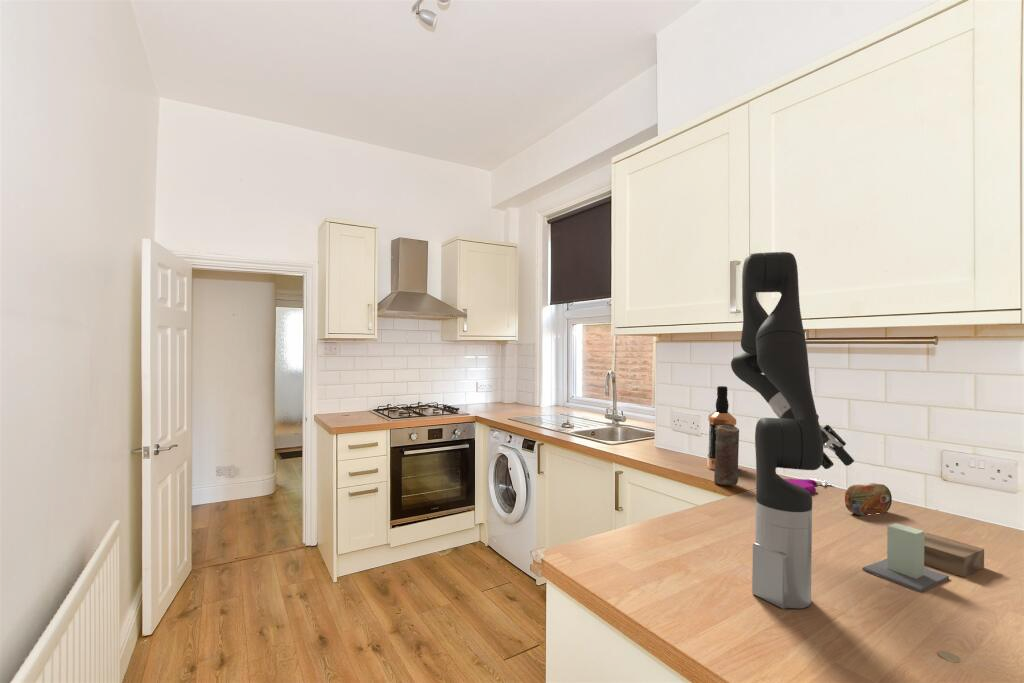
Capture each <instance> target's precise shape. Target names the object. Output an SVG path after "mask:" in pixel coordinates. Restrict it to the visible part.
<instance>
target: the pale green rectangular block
mask: <svg viewBox="0 0 1024 683" xmlns="http://www.w3.org/2000/svg"><path fill="white" fill-rule="evenodd" d="M924 534H925V530H921V529H918V528H915V527H911V526H907V525H904V524H900V523H896V522H895V523H891V524H888V525H887V535H886V536H887V540H886V541H887V542H886V544H887V545H886V546H887V549H886V550H887V552H886V553H887V554H886V555H887V556H886V557H887V558H886V559H887V569H890V570H893V571H895V572H898V573H901V574H904V575H907V576H909V577H912V578H915V579H917V578H919V577H921V576H923V575H924V568H925V564H924Z"/></svg>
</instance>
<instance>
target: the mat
mask: <svg viewBox="0 0 1024 683" xmlns="http://www.w3.org/2000/svg"><path fill="white" fill-rule="evenodd" d="M863 570H865V571H864V572H866V571H868V572H870V573H869V574H871V573H872V574H871V575H874V574H875V575H874V576H876V575H878V576H877V577H879V576H880V578H882V577H883V578H882V579H884V578H885V580H887V579H888V580H887V581H890V582H892V581H893V583H895V584H897V585H900V584H901V586H903V587H906V588H909V589H911V590H914V591H917V592H919V593H922V592H924V591H926V590H928V589H931V588H933V587H935V586H937V585H940V584H942V583H944V582H945V581H947V580H949V579H950V576H949V575H946V574H944V573H941V572H937V571H935V570H932V569H928V568H926V567H924V575H923V576H921V577H919V578H917V579H915V578H912V577H909V576H907V575H904V574H901V573H898V572H895V571H893V570H890V569H887V558H885V559H882V560H879V561H877V562H874V563H871V564H868V565H866V566H863V567H862V571H863ZM868 572H867V573H868Z"/></svg>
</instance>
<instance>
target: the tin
mask: <svg viewBox="0 0 1024 683" xmlns="http://www.w3.org/2000/svg"><path fill="white" fill-rule="evenodd" d="M892 501H893V498H892V492H891V490H890V489H889V488H888V486H886V485H885V484H881V483H876V482H872V483H862V484H853V485H850V486H849V487H848V488H847V489H846V491H845V493H844V503H845V507H846V509H847V510H848V512H850V513H851V514H854V515H857V516H859V515H860V517H862V516H861V515H868V514H876V513H884V514H886V513H887V512H888V511H889V510H890V508H891V506H892Z"/></svg>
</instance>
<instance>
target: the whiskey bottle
mask: <svg viewBox="0 0 1024 683" xmlns="http://www.w3.org/2000/svg"><path fill="white" fill-rule="evenodd" d="M716 389H717V390H716V392H717V393H716V396H717V398H716V400H715V411H714V412H712V413H711V414H709V415H708V417H707V420H708V423H709V431H708V433H709V434H708V453H707V457H706V458H707V459H706V464H707V467H708V468H707V469H709V470H713V471H715V453H716V429H717V426H718V425H729V426H734V427H736V425H737V418H735V417H734V416H733V415H732V414H731V413H730V412H729V407H730V406H729V400H728V391H729V390H728V386H726V385H725V386H724V385H718V386H717V387H716Z"/></svg>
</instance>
